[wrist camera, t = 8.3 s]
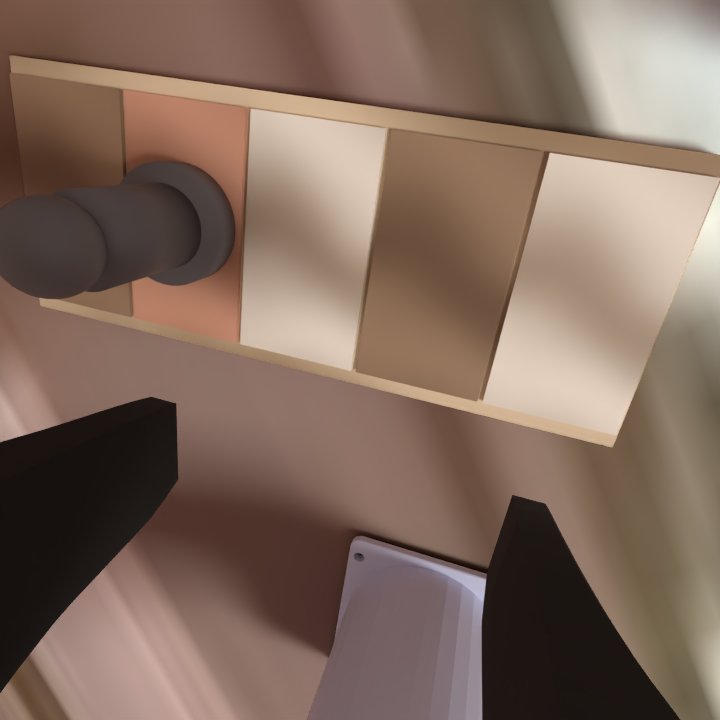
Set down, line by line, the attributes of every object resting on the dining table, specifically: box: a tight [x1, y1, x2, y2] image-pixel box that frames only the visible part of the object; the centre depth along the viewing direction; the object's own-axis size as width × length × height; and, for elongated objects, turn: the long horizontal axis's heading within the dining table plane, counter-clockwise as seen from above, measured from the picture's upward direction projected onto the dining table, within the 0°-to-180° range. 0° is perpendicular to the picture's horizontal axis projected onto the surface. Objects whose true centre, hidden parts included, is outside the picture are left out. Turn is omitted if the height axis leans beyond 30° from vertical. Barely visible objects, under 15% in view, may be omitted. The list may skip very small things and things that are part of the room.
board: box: [9, 55, 720, 447], centre depth 19 cm, size 10×25×1 cm, turn 83°
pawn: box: [0, 162, 236, 299], centre depth 16 cm, size 4×4×8 cm
